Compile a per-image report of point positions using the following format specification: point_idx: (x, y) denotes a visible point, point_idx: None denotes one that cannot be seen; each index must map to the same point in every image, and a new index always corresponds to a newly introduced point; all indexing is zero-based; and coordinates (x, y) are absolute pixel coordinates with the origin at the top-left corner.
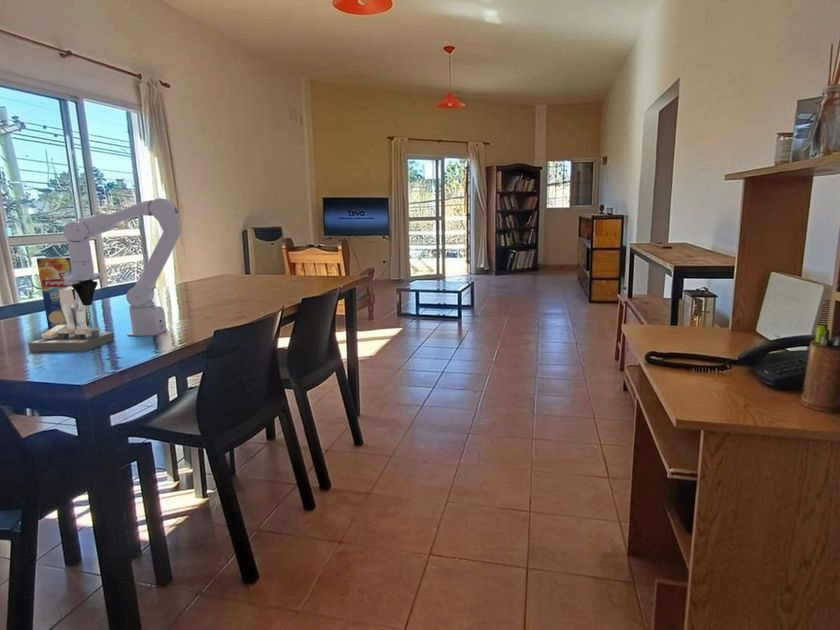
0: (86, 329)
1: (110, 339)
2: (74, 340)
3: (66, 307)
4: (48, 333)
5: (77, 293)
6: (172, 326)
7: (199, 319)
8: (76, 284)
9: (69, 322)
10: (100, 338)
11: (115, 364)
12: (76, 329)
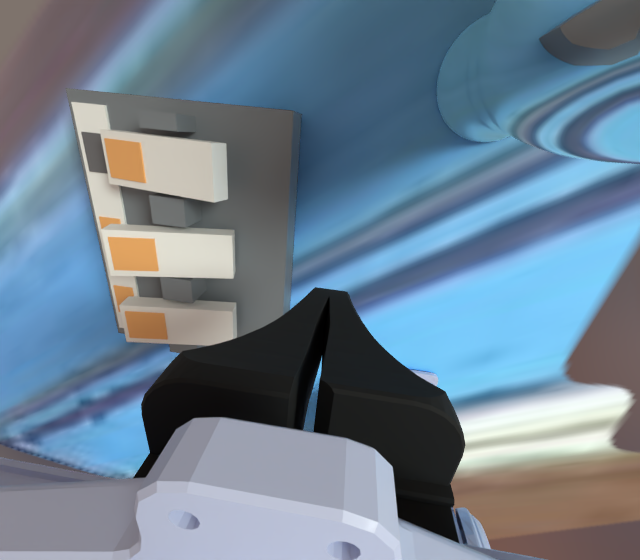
0: (149, 338)
1: None
2: (129, 289)
3: (493, 20)
4: (116, 160)
5: (264, 327)
6: (481, 448)
7: (589, 499)
8: (157, 449)
9: (469, 51)
10: None
11: (52, 427)
12: (177, 276)
